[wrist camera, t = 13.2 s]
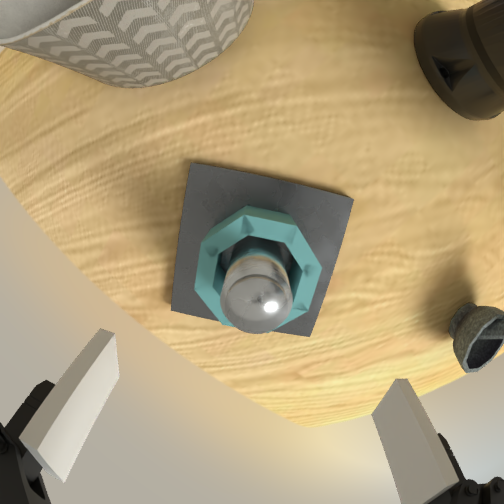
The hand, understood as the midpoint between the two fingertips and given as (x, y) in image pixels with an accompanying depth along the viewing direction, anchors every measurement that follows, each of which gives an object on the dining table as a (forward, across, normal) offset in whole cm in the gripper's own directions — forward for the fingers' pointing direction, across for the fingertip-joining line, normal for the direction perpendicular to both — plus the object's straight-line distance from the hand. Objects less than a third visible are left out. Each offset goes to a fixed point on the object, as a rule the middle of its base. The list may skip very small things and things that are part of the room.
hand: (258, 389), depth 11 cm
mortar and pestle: (+19, +33, -3) cm, 38 cm away
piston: (+18, 0, 0) cm, 18 cm away
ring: (+17, 0, 0) cm, 17 cm away
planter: (+18, -15, +24) cm, 34 cm away
